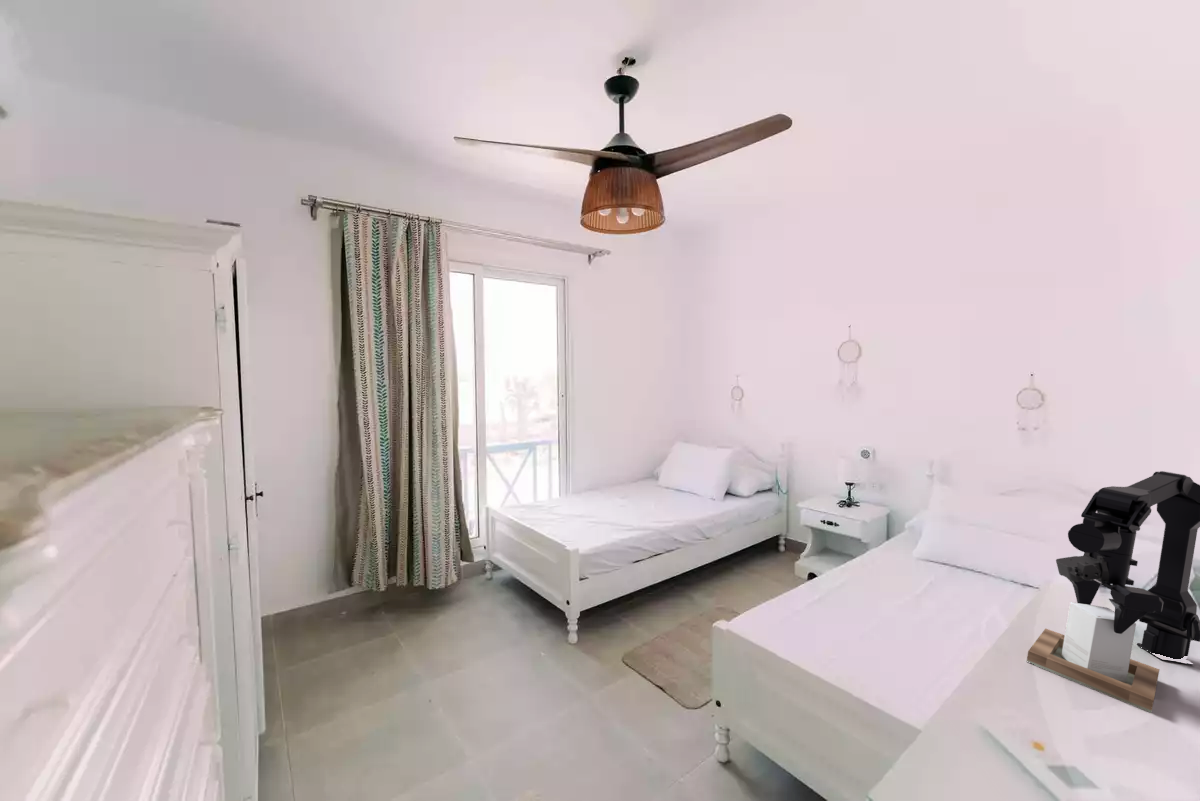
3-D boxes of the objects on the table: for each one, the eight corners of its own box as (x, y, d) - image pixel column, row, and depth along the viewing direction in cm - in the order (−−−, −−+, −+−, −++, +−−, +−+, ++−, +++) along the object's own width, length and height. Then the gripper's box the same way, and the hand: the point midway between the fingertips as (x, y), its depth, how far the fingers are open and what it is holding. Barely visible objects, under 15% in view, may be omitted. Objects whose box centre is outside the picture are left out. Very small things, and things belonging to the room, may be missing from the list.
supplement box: (1127, 683, 100) (1138, 624, 99) (1085, 676, 101) (1095, 617, 100) (1098, 662, 107) (1108, 606, 106) (1059, 655, 108) (1068, 600, 107)
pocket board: (1043, 638, 117) (1045, 628, 116) (1157, 680, 103) (1159, 669, 102) (1026, 661, 105) (1028, 650, 105) (1151, 713, 91) (1153, 700, 91)
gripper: (1037, 529, 113) (1026, 595, 114) (1103, 560, 94) (1089, 637, 95) (1094, 537, 110) (1082, 604, 112) (1172, 570, 92) (1157, 649, 93)
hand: (1099, 621), depth 103 cm, fingers open, 9 cm apart
